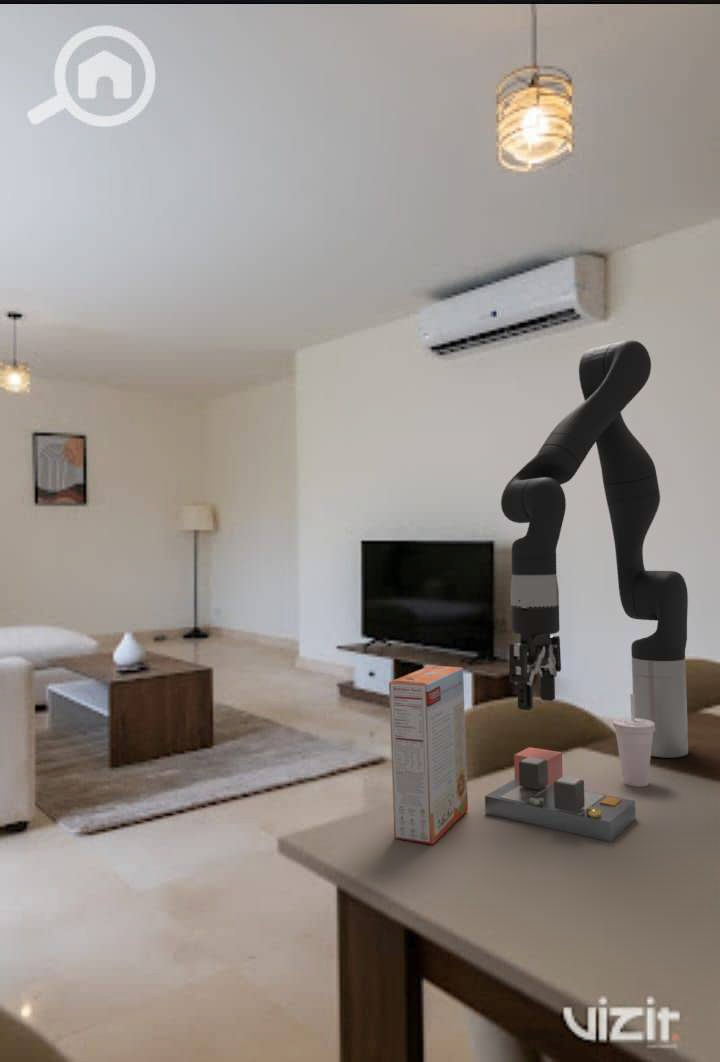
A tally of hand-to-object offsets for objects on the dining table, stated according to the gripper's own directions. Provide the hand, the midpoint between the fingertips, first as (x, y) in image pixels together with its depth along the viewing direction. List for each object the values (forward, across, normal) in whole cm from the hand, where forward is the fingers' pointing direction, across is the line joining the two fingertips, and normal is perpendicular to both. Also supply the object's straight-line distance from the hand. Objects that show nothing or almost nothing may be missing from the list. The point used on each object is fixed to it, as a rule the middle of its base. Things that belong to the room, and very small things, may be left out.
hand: (536, 704), depth 119 cm
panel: (+13, +11, +8) cm, 19 cm away
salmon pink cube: (+13, 0, 0) cm, 13 cm away
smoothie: (+13, -10, +12) cm, 20 cm away
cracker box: (+13, +24, -5) cm, 28 cm away
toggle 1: (+10, +8, +3) cm, 13 cm away
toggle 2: (+10, +14, +11) cm, 21 cm away
